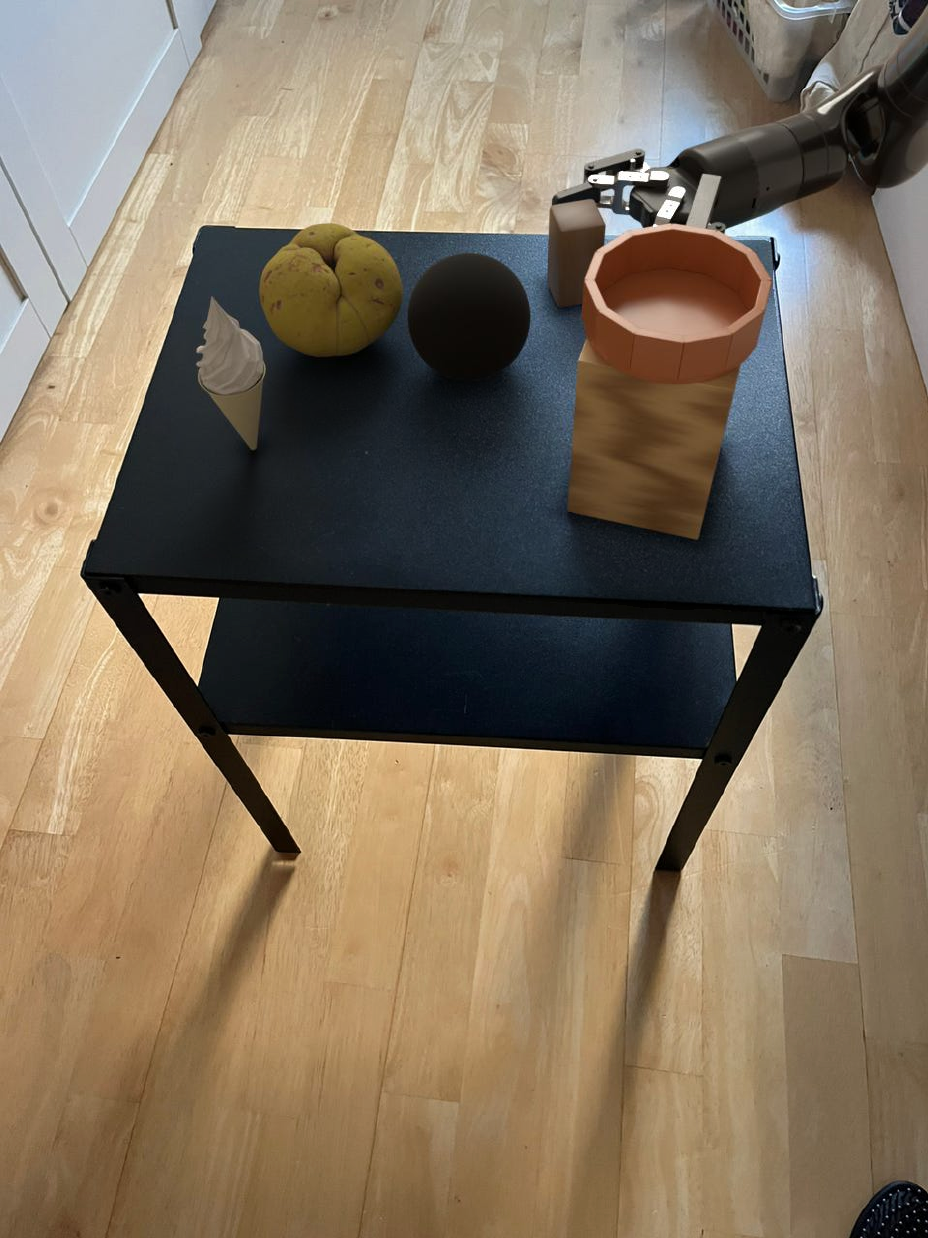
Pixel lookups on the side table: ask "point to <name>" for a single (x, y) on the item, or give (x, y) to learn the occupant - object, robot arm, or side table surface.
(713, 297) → the pan
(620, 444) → the stand
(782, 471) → the side table surface
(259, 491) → the side table surface
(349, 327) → the fruit
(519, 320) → the decorative ball
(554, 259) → the wooden block
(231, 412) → the ice cream cone
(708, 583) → the side table surface
